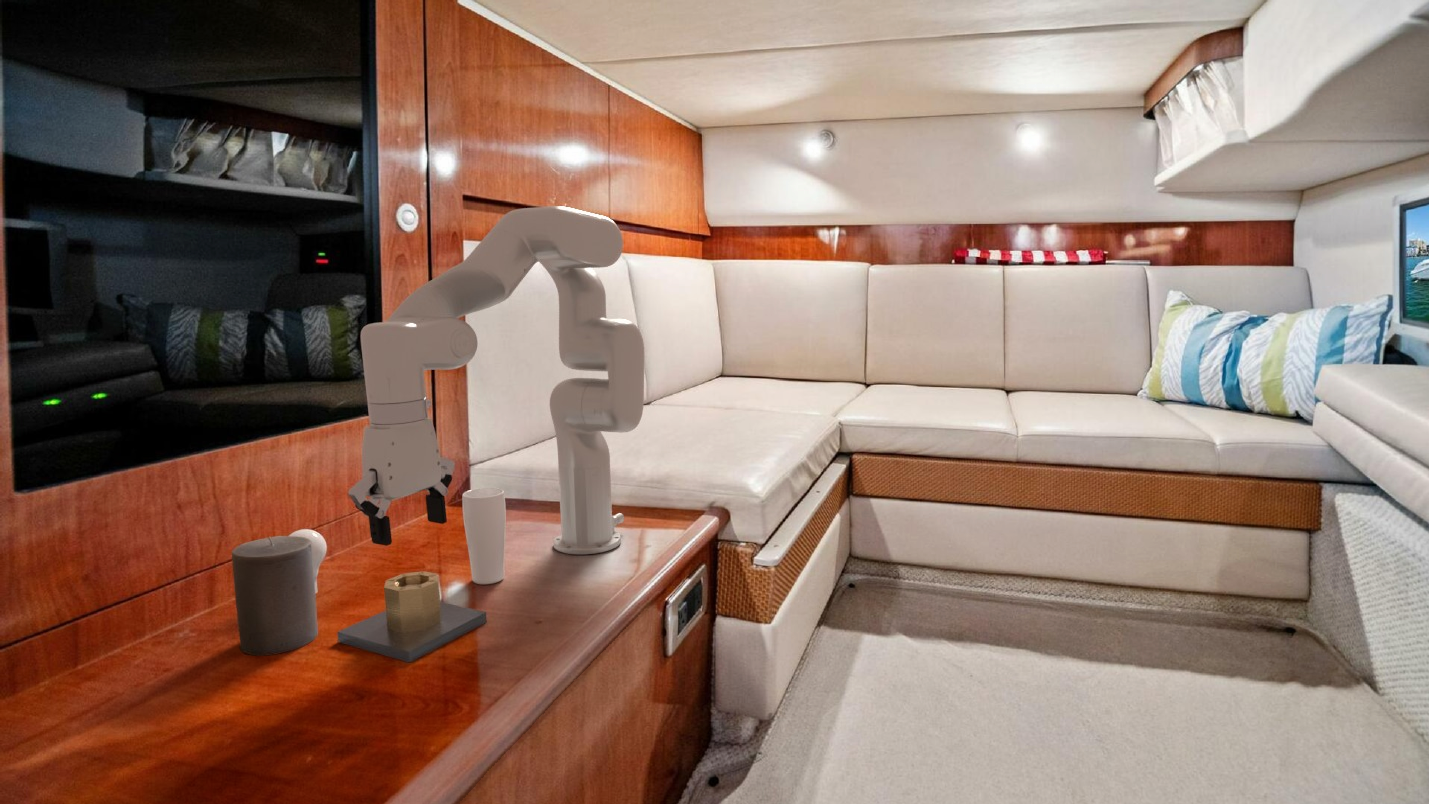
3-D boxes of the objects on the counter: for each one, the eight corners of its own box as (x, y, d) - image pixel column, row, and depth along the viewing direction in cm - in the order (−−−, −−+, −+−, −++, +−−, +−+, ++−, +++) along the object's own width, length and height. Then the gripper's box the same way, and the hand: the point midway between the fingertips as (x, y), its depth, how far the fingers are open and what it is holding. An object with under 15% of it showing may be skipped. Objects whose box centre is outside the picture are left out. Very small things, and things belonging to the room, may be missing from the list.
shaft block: (418, 605, 121) (415, 565, 120) (486, 622, 115) (484, 579, 114) (338, 642, 109) (334, 597, 108) (409, 662, 103) (406, 615, 102)
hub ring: (416, 608, 117) (413, 569, 116) (451, 616, 113) (448, 576, 113) (377, 626, 111) (373, 585, 110) (412, 635, 107) (409, 593, 106)
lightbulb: (296, 590, 129) (290, 525, 127) (337, 588, 129) (331, 523, 128) (278, 605, 122) (271, 537, 121) (321, 603, 123) (315, 535, 121)
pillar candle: (237, 662, 104) (227, 552, 102) (242, 634, 112) (232, 532, 110) (320, 646, 108) (311, 541, 106) (318, 620, 117) (310, 522, 115)
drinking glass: (497, 588, 128) (492, 498, 126) (459, 586, 129) (453, 497, 127) (516, 573, 134) (511, 488, 132) (479, 571, 136) (474, 486, 134)
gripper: (428, 401, 117) (438, 512, 120) (323, 423, 102) (338, 549, 105) (465, 403, 113) (475, 517, 116) (363, 426, 98) (377, 557, 101)
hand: (410, 532), depth 111 cm, fingers open, 9 cm apart
